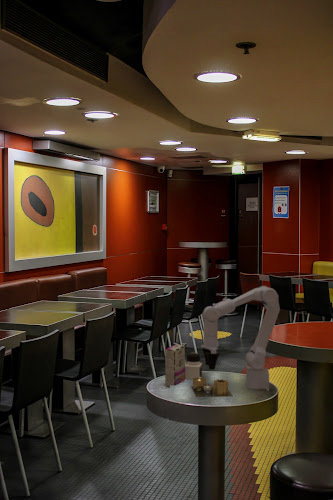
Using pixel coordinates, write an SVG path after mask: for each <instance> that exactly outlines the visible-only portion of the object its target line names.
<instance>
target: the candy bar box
mask: <svg viewBox="0 0 333 500" xmlns="http://www.w3.org/2000/svg"><path fill="white" fill-rule="evenodd" d="M164 361H165V362H164V365H165V366H164V367H165V369H164V371H165V373H164V374H165V375H164V377H165V379H164V381H165V383H164V384H165V387H166V388H171V387H170V386H173V387H174V386H177V385H179V384H181V383H182V382H185V380H186V379H185V364H186V345H182V344H181V345H180V344H174V345H171V346H170V347H167V348H165V350H164Z"/></svg>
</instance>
